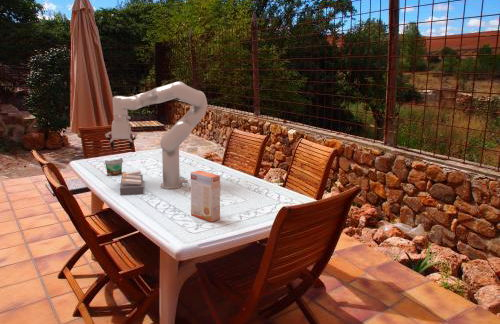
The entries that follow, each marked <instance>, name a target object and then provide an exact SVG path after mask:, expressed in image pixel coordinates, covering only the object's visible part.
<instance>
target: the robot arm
mask: <svg viewBox="0 0 500 324" xmlns="http://www.w3.org/2000/svg"><path fill="white" fill-rule="evenodd" d="M174 99H178V100H180V101H183V102H184V103H187V104H189V105H191V107H190V109H189V110H188V111H187V112H186V113H185V114H184V115H183V116H182V117H181V118H179V120H178V121H177V122H176V123H175V124H174V125H173V126H172V127H171V128H170V129H169V130H168V131H167V132H166V133H164V134H163V135H162V137H161V139H160V143H159V146H160V148H161V153H162V154H161V155H162V157H161V159H162V162H161V164H162V183H161V184H160V185H159V186H160V188H161V189H165V190H175V189H176V190H177V189H180V188H182V187H183V184H188V183H189V180H188V179H185V178H181V177H180V146H181V145H182V144H183V142H184V141H186V139H187V138H188V137H189V136H190V135H191V133H192V130H193V129H194V128H195V127H196V126H197V125H198V124H199V122H200V121H201V120H202V119H203V117H205V115H206V113H207V109H208V101H207V97H206V94H205V93H204V92H203V91H201V90H198V89H195V88H193V87H191V86H189V85H187V84H186V83H184V82H183V81H179V80H177V81H175V82H171V83H168V84H165V85H161V86H158V87H155V88H153V89H150V90H148V91H144V92H142V93H139V94H135V95H131V96H125V95H115V96H113V97H112V112H113V113H112V114H113V120H112V122H111V131H108V132H107V133H105V134H104V136H105V137H106V139H107V140H108V141H109V142H110V148H111V150H114V149H115V142H114V141H115V140H128V141H129V150H132V149H133V147H134V145H133V142H134V141H135V140H136V139H137V137H138V133H136V132H134V131H132V127H131V122H130V120H131V116H129V115H128V110H130V111H136V110H138V109H141V108H143V107H148V106H151V105H156V104H161V103H165V102H167V101H171V100H174ZM109 135H111V137H110V136H109ZM132 136H133V137H132Z"/></svg>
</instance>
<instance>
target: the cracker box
mask: <svg viewBox="0 0 500 324" xmlns="http://www.w3.org/2000/svg"><path fill="white" fill-rule="evenodd" d="M190 215H191V216H192V217H193V216H194V217H197V218H199V219H201V220H205V221H207V222H210V223H212V222H216V221H218V220H220V219H221V175H219V174H216V173H212V172H207V171H203V170H195V171H191V172H190Z"/></svg>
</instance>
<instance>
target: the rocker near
mask: <svg viewBox="0 0 500 324" xmlns="http://www.w3.org/2000/svg"><path fill="white" fill-rule="evenodd" d="M122 183H129V184H141V180H133V179H122Z"/></svg>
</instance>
